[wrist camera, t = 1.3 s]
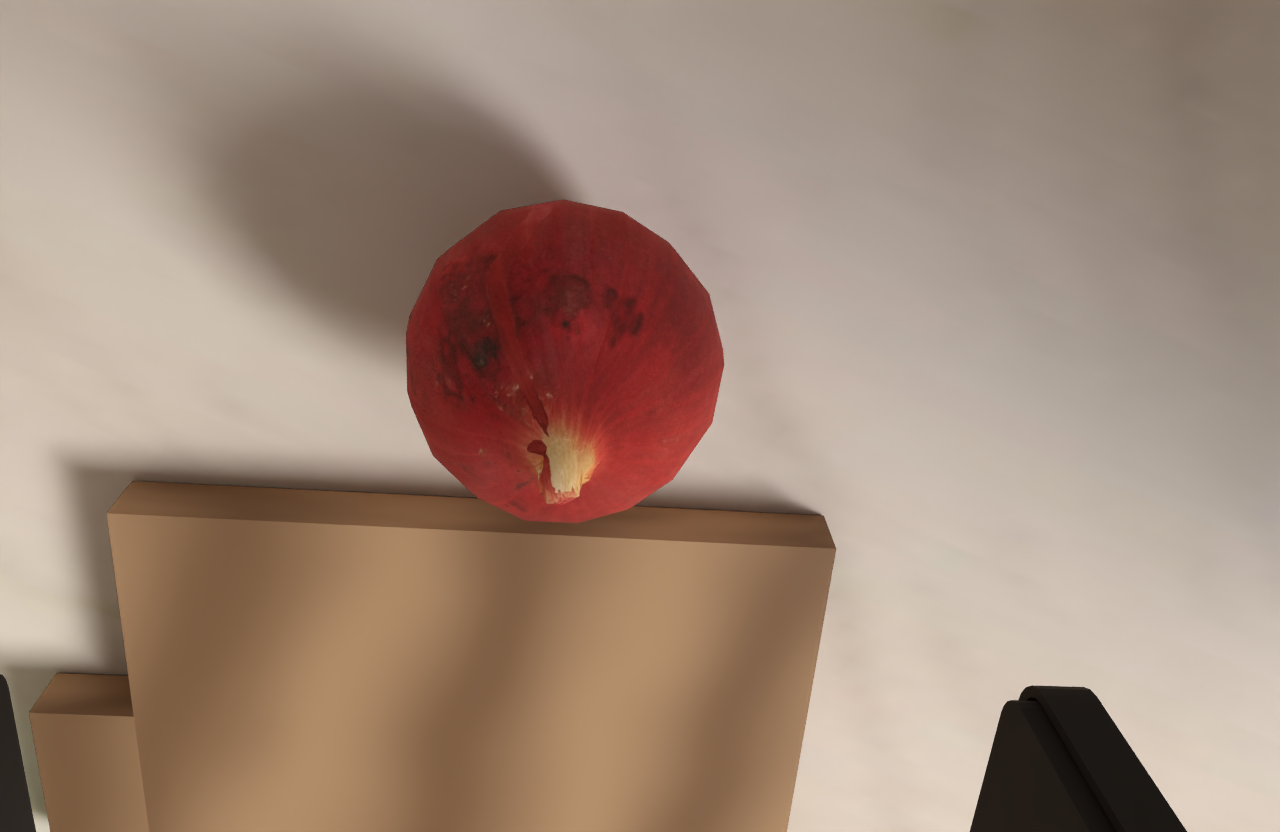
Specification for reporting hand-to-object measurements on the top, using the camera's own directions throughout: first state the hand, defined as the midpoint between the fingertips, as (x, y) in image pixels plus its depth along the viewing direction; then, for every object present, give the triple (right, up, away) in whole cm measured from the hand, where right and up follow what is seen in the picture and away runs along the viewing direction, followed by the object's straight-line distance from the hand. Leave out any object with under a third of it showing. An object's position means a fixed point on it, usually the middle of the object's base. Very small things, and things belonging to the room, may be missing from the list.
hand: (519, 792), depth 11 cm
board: (-4, -6, +19) cm, 20 cm away
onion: (0, +6, +14) cm, 15 cm away
